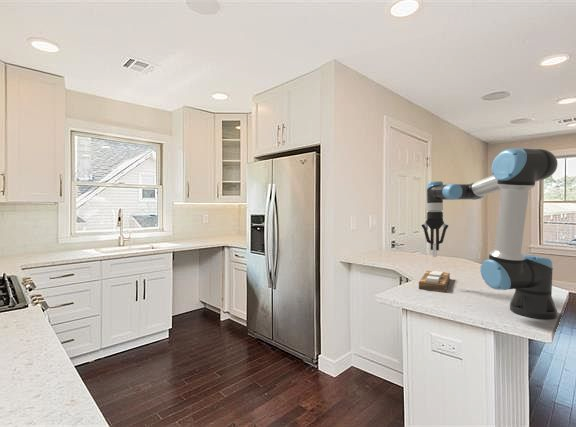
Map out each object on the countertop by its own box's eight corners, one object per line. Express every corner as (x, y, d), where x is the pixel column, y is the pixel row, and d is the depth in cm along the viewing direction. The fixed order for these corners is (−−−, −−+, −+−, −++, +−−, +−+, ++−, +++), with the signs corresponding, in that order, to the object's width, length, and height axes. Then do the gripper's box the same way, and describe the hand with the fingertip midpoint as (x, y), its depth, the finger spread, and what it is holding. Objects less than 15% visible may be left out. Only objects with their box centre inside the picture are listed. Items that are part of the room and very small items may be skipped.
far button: (441, 278, 179) (442, 273, 179) (431, 277, 182) (431, 272, 182) (442, 276, 184) (442, 271, 184) (432, 275, 187) (432, 270, 187)
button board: (444, 292, 158) (444, 284, 158) (418, 289, 165) (418, 281, 164) (449, 279, 184) (449, 272, 184) (426, 276, 190) (427, 270, 190)
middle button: (440, 280, 171) (440, 275, 171) (429, 279, 173) (429, 274, 173) (441, 278, 175) (441, 273, 175) (430, 276, 178) (430, 272, 178)
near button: (438, 284, 162) (438, 279, 162) (426, 283, 165) (426, 278, 165) (439, 282, 167) (439, 277, 167) (427, 281, 169) (427, 275, 169)
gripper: (449, 211, 168) (449, 256, 168) (422, 211, 175) (422, 254, 175) (448, 211, 161) (447, 258, 162) (420, 211, 168) (420, 256, 169)
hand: (434, 256), depth 169 cm, fingers closed
